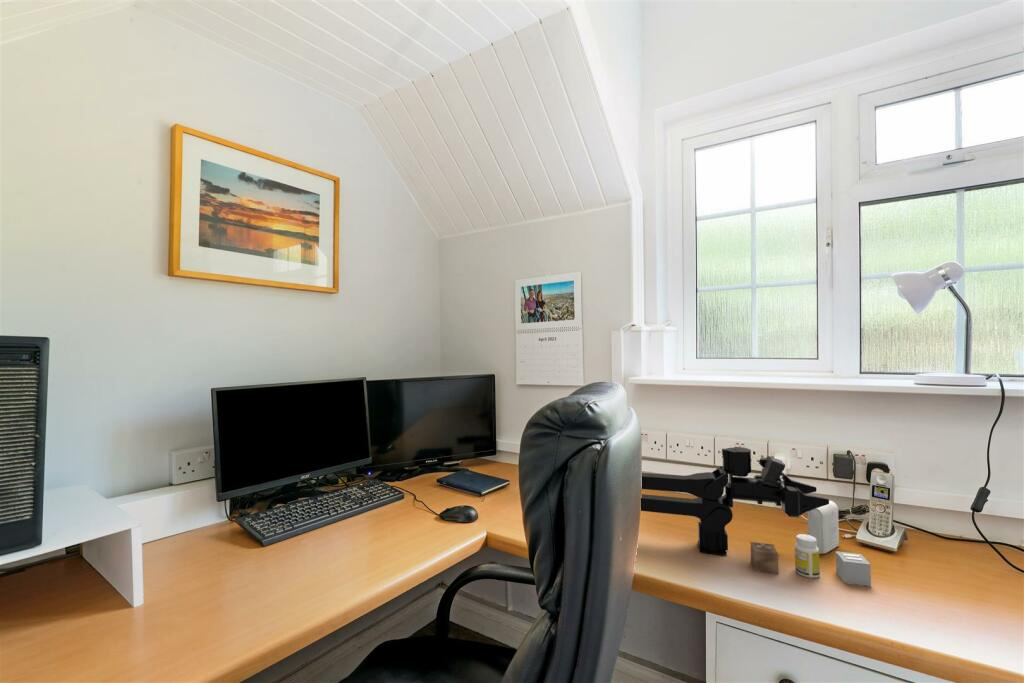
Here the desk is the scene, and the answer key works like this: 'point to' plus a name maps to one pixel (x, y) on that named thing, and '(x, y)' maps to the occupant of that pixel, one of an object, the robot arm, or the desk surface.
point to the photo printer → (824, 526)
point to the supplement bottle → (807, 556)
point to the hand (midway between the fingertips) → (822, 495)
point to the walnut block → (764, 558)
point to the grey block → (853, 568)
